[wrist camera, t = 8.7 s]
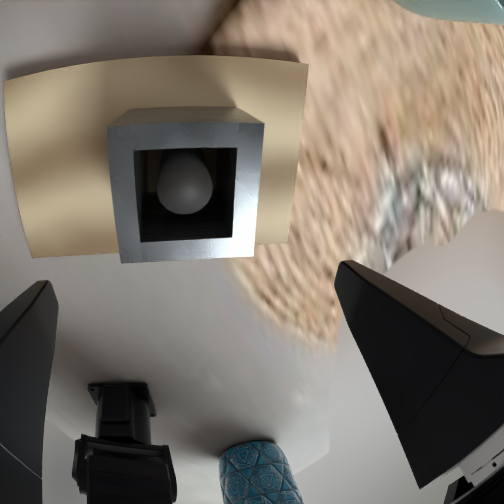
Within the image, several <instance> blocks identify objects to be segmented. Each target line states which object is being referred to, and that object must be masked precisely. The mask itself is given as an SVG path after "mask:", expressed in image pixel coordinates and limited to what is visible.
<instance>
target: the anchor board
mask: <svg viewBox="0 0 504 504" xmlns="http://www.w3.org/2000/svg"><path fill="white" fill-rule="evenodd" d="M308 67H309V64H305V63H298V62H290V61H282V60H273V59H263V58H250V57H235V56H207V55H180V56H153V57H138V58H126V59H116V60H107V61H100V62H92V63H86V64H79V65H73V66H68V67H62V68H57V69H52V70H47V71H43V72H38V73H34V74H30V75H26V76H22V77H18V78H15V79H11V80H7V81H4V104H5V119H6V131H7V140H8V148H9V156H10V163H11V169H12V175H13V181H14V186H15V192H16V197H17V201H18V206H19V210H20V215H21V219H22V223H23V227H24V231H25V235H26V239H27V242H28V246H29V249H30V253H31V256H32V258H41V257H56V256H72V255H88V254H104V253H119V247H118V240H117V234H116V227H115V219H114V211H113V203H112V193H111V183H110V172H109V160H108V144H107V127H108V126H109V125H110V124H111V123H112V122H114V121H115V120H116V119H117V118H118V117H120V116H121V115H122V114H123V113H125V112H126V111H127V110H128V109H138V108H155V107H182V106H227V107H238V108H240V109H242V110H243V111H245V112H247V113H248V114H250V115H252V116H253V117H255V118H257V119H258V120H260V121H261V122H263V123H265V126H264V138H263V149H262V160H261V172H260V183H259V194H258V206H257V217H256V228H255V239H254V245H261V244H280V243H287V239H288V232H289V225H290V218H291V211H292V204H293V196H294V188H295V181H296V173H297V165H298V157H299V149H300V141H301V132H302V123H303V114H304V105H305V96H306V87H307V77H308ZM216 161H217V147H213V148H172V149H151V150H147V162H148V185H149V192H153V191H157V194H158V197H159V200H160V202H161V203H162V204H163V206H164V207H165V208H167V209H168V210H170V211H171V212H174V213H177V214H191V213H194V212H197V211H199V210H200V209H202V208H203V207H204V206H205V205H206V204H207V203H208V201H209V199H210V197H211V195H212V189H216Z"/></svg>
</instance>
